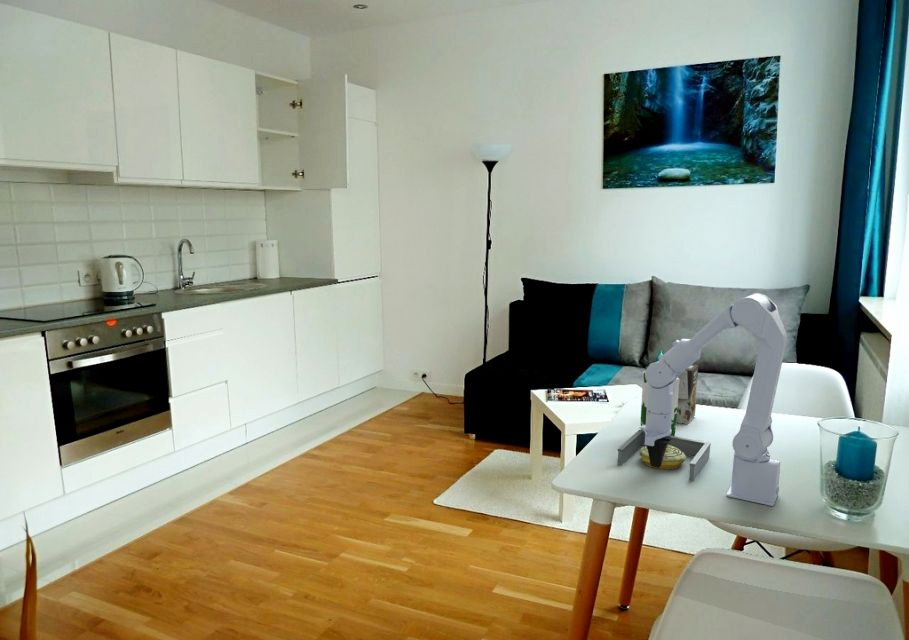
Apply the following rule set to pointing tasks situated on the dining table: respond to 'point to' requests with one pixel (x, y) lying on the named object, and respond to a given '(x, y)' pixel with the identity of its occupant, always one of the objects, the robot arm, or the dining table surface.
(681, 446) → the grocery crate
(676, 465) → the decorated donut
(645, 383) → the milk carton
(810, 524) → the dining table surface
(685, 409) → the coffee box
